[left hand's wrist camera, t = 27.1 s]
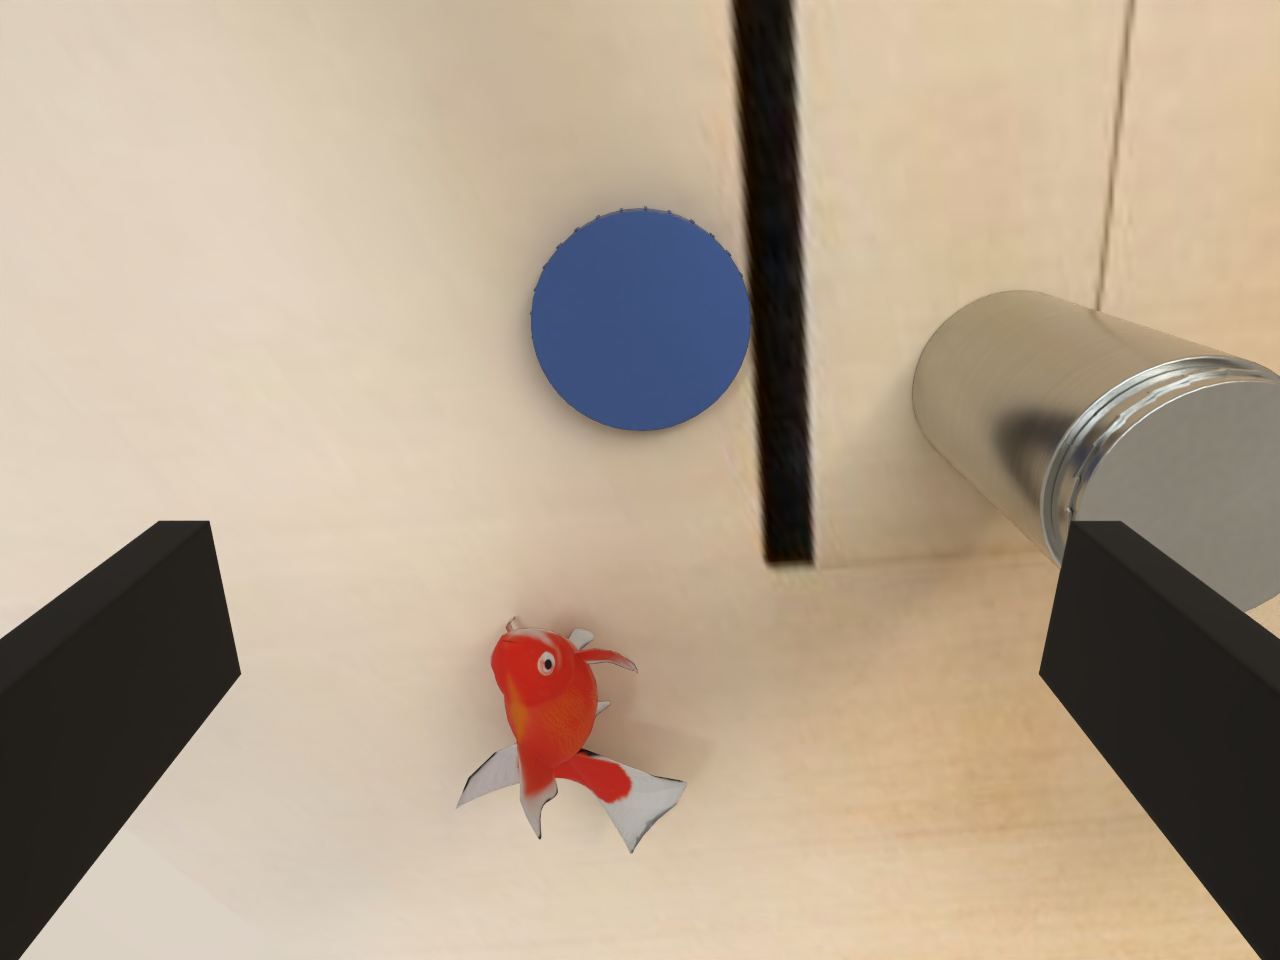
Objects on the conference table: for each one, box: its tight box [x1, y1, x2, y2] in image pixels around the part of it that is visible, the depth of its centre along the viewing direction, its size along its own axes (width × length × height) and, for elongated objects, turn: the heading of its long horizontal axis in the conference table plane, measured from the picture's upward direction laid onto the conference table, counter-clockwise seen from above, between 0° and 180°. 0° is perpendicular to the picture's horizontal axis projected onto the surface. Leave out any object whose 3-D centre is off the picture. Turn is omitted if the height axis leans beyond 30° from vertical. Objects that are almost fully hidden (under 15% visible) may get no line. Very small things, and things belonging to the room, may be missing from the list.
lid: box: [530, 207, 751, 431], centre depth 36 cm, size 10×10×2 cm
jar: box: [913, 291, 1280, 612], centre depth 31 cm, size 8×8×15 cm
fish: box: [456, 617, 687, 854], centre depth 41 cm, size 11×16×10 cm
